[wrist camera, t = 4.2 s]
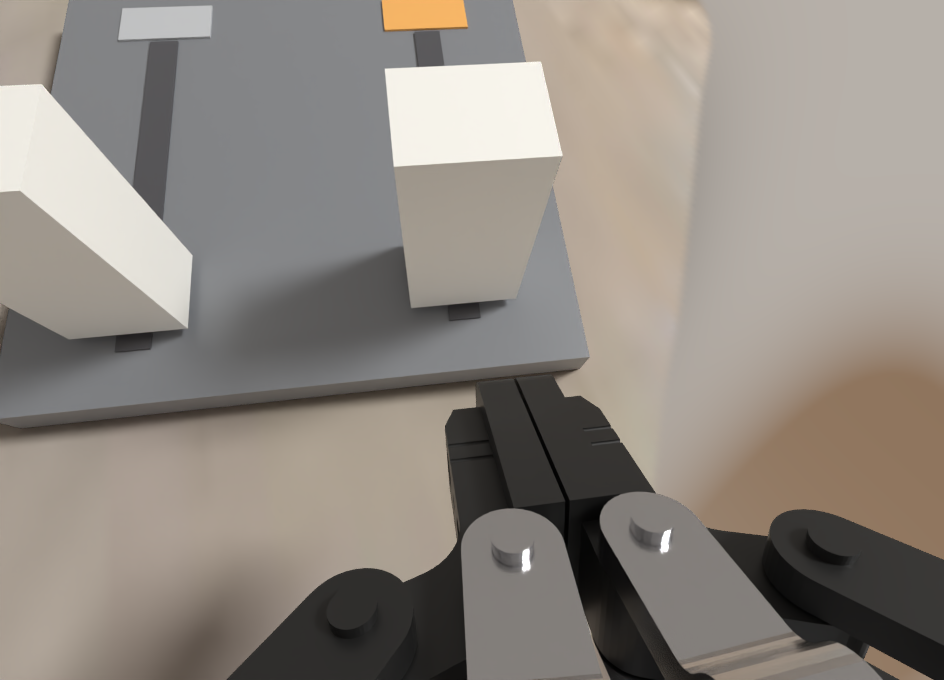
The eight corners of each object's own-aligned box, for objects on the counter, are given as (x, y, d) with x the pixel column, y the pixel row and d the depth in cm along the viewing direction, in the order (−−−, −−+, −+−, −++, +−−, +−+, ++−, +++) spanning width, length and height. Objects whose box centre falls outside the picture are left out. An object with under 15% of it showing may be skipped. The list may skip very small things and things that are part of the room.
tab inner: (68, 339, 18) (-188, 204, 11) (79, 264, 19) (-147, 92, 12) (187, 328, 19) (19, 190, 11) (192, 255, 20) (41, 83, 12)
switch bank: (20, 428, 19) (-15, 419, 17) (89, 29, 26) (67, -3, 24) (579, 368, 21) (590, 356, 20) (505, 14, 28) (509, -16, 26)
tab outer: (411, 308, 19) (393, 166, 12) (404, 238, 20) (384, 68, 13) (515, 298, 20) (562, 155, 12) (504, 231, 21) (540, 61, 13)
